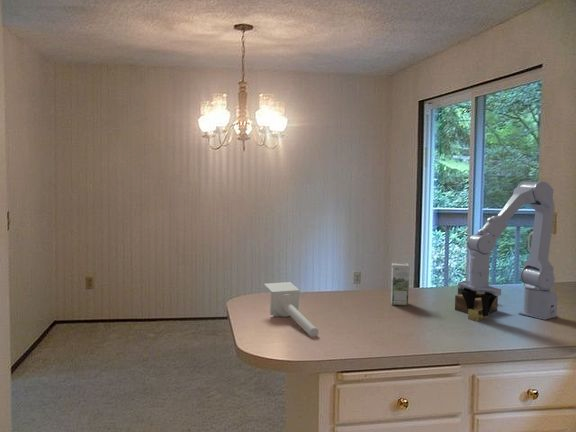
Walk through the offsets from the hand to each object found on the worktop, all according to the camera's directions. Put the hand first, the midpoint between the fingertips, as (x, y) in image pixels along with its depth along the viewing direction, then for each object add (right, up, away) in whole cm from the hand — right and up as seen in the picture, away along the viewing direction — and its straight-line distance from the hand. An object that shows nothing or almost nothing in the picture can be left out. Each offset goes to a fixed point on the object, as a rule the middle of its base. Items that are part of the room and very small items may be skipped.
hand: (478, 314), depth 177 cm
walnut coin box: (+3, -1, +11) cm, 11 cm away
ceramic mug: (+6, 0, +26) cm, 27 cm away
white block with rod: (-59, -2, -7) cm, 60 cm away
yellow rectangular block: (0, -2, 0) cm, 2 cm away
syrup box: (-21, 0, +19) cm, 29 cm away
